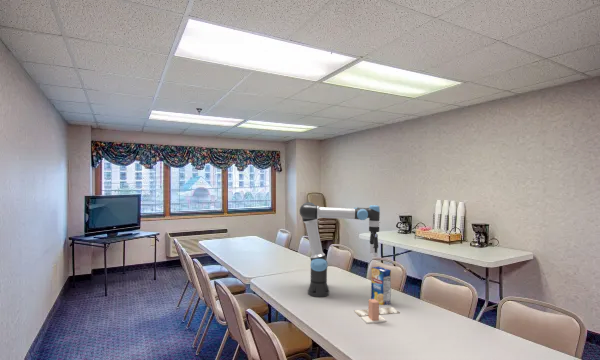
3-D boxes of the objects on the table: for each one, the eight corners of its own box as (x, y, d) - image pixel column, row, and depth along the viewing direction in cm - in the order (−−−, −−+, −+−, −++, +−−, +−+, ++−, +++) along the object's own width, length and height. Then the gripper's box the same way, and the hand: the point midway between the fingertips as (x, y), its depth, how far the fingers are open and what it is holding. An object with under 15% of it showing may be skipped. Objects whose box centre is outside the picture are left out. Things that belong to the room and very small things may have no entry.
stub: (366, 323, 179) (366, 303, 179) (361, 318, 186) (361, 299, 186) (386, 321, 182) (386, 302, 182) (380, 316, 189) (380, 297, 189)
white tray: (366, 325, 179) (366, 322, 179) (353, 313, 196) (353, 310, 196) (409, 321, 185) (409, 318, 185) (392, 309, 202) (392, 306, 202)
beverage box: (383, 305, 209) (383, 271, 209) (371, 300, 218) (371, 267, 219) (390, 303, 213) (391, 270, 213) (378, 298, 222) (378, 266, 222)
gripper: (383, 228, 228) (382, 259, 227) (375, 224, 252) (375, 251, 252) (372, 228, 228) (371, 258, 228) (366, 224, 253) (365, 251, 252)
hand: (373, 255), depth 240 cm, fingers open, 13 cm apart
